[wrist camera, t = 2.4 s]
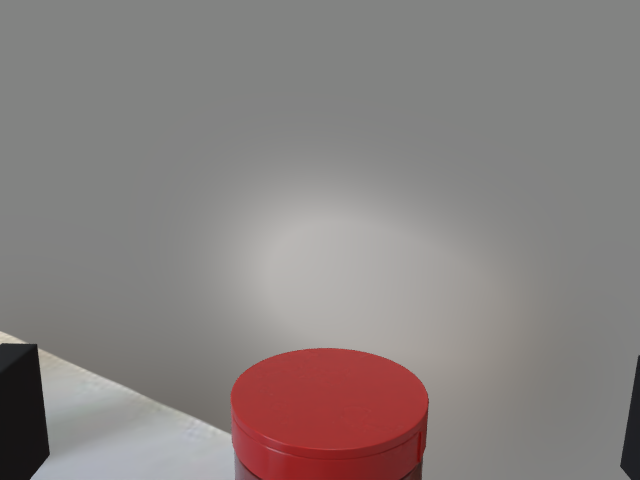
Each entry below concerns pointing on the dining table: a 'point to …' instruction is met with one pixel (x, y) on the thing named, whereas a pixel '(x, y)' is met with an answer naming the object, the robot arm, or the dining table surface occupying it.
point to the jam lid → (329, 417)
